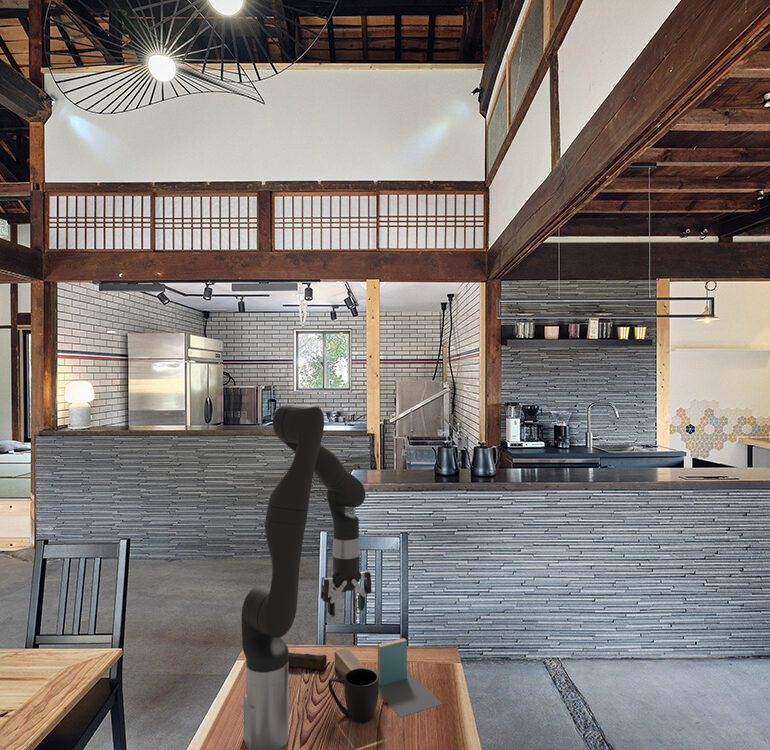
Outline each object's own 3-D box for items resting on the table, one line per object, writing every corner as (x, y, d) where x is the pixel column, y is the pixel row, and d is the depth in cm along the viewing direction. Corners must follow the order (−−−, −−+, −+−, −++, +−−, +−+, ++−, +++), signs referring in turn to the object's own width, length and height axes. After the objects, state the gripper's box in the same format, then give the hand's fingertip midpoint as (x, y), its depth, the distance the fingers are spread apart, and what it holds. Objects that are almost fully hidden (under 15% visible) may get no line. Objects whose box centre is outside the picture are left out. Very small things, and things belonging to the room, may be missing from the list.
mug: (332, 705, 133) (332, 666, 133) (380, 708, 131) (380, 668, 132) (325, 726, 124) (325, 684, 125) (376, 729, 123) (376, 687, 123)
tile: (380, 686, 140) (380, 647, 141) (377, 683, 142) (377, 644, 142) (407, 678, 144) (406, 640, 144) (404, 675, 146) (403, 638, 146)
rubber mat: (400, 719, 127) (400, 717, 127) (360, 675, 146) (360, 674, 146) (442, 705, 133) (442, 703, 133) (399, 664, 152) (399, 663, 152)
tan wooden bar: (360, 702, 134) (360, 682, 134) (334, 669, 150) (334, 650, 150) (375, 698, 136) (375, 678, 136) (347, 665, 152) (347, 647, 152)
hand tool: (327, 666, 151) (328, 650, 152) (323, 674, 148) (323, 656, 148) (265, 659, 156) (265, 643, 156) (259, 666, 152) (259, 649, 152)
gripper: (327, 561, 142) (327, 623, 141) (375, 553, 148) (375, 612, 148) (317, 553, 149) (317, 612, 148) (363, 546, 155) (364, 602, 155)
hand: (346, 612), depth 148 cm, fingers open, 8 cm apart
